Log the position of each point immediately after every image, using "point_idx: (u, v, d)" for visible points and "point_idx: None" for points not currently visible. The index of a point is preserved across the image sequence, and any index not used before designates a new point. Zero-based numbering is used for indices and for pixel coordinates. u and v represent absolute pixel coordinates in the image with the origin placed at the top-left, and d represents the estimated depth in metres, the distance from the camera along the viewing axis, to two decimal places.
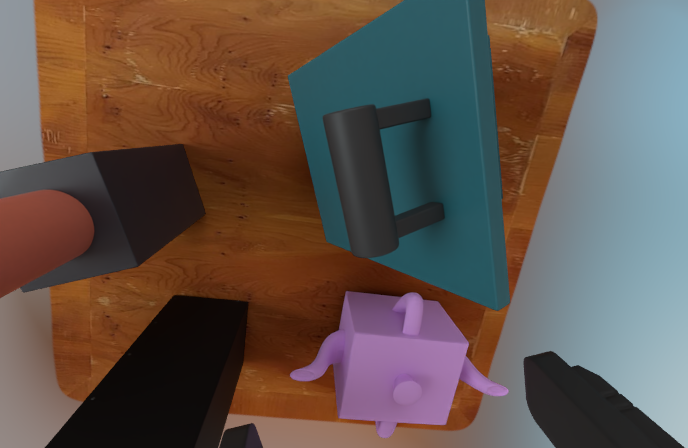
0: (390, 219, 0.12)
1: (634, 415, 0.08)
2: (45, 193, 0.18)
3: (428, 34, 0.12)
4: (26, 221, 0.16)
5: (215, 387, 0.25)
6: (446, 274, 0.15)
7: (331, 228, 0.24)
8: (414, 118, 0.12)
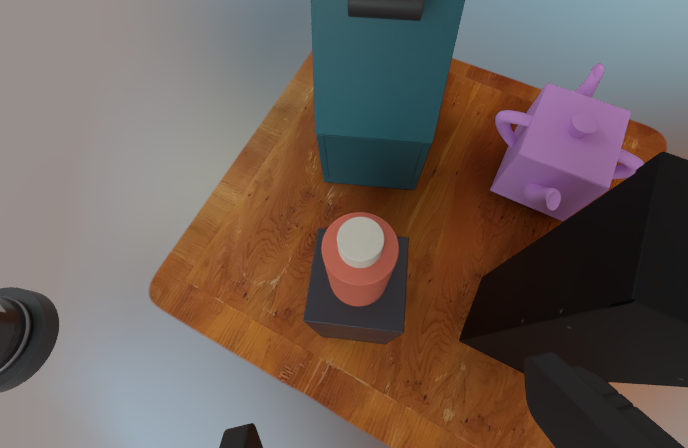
0: None
1: (634, 415, 0.08)
2: None
3: None
4: None
5: (539, 238, 0.27)
6: None
7: (421, 129, 0.33)
8: None
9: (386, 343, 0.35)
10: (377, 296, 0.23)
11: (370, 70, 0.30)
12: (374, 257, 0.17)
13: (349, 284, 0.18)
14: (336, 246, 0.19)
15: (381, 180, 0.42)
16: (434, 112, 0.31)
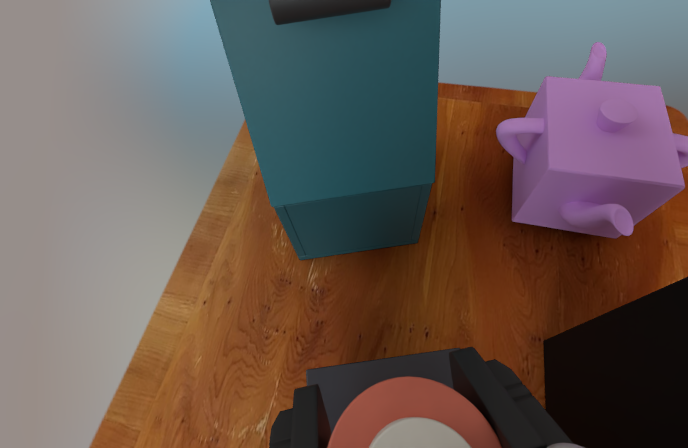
0: None
1: (529, 403, 0.09)
2: None
3: None
4: None
5: (656, 291, 0.17)
6: None
7: (416, 167, 0.23)
8: None
9: None
10: None
11: (328, 104, 0.20)
12: None
13: None
14: None
15: (373, 241, 0.32)
16: (429, 141, 0.22)
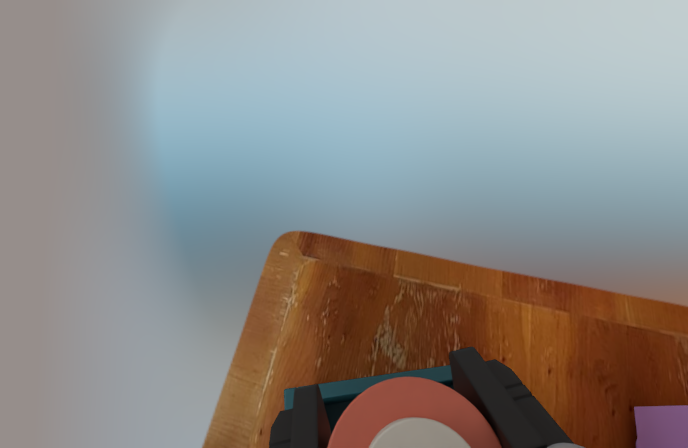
0: None
1: (529, 403, 0.09)
2: None
3: None
4: None
5: None
6: None
7: None
8: None
9: None
10: None
11: None
12: None
13: None
14: None
15: None
16: None
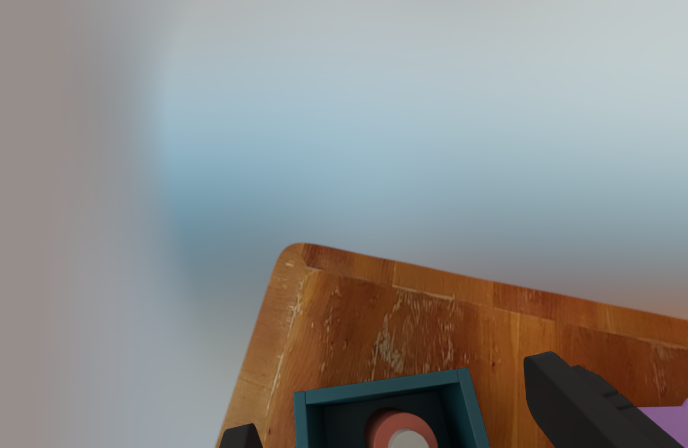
0: None
1: (634, 415, 0.08)
2: (366, 425, 0.28)
3: None
4: (383, 413, 0.25)
5: None
6: None
7: None
8: None
9: None
10: None
11: None
12: None
13: None
14: None
15: None
16: None
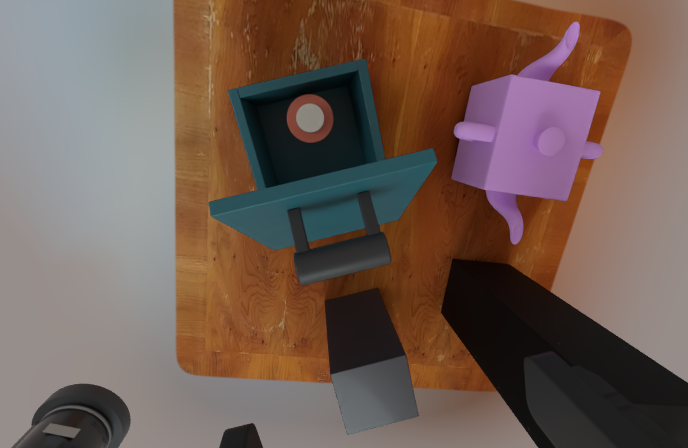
0: (365, 245, 0.18)
1: (634, 415, 0.08)
2: None
3: (249, 217, 0.19)
4: None
5: (508, 308, 0.32)
6: (412, 181, 0.20)
7: (386, 220, 0.30)
8: (300, 222, 0.19)
9: None
10: None
11: (322, 223, 0.25)
12: (321, 127, 0.30)
13: (310, 142, 0.32)
14: (296, 122, 0.31)
15: None
16: (398, 213, 0.28)
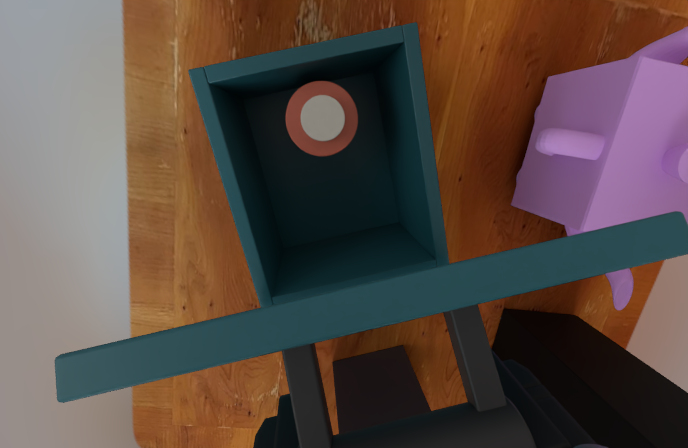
0: None
1: (549, 404, 0.08)
2: None
3: None
4: None
5: (619, 415, 0.21)
6: None
7: None
8: (312, 372, 0.08)
9: None
10: None
11: None
12: (339, 133, 0.19)
13: None
14: (300, 124, 0.20)
15: None
16: None
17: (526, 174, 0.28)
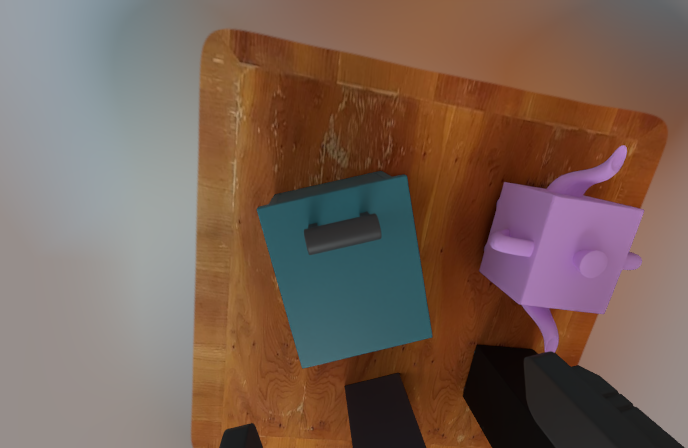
0: (358, 217, 0.23)
1: (634, 415, 0.08)
2: None
3: (281, 226, 0.26)
4: None
5: None
6: (401, 208, 0.27)
7: (416, 327, 0.29)
8: (315, 225, 0.26)
9: None
10: None
11: (343, 288, 0.28)
12: None
13: None
14: None
15: None
16: (422, 306, 0.29)
17: (489, 251, 0.38)
